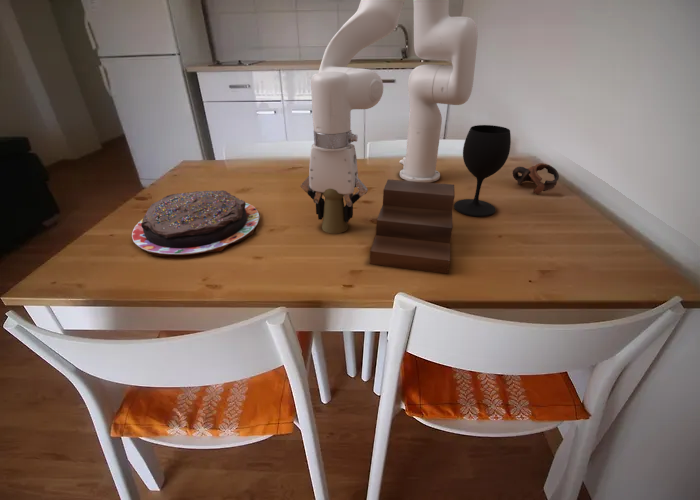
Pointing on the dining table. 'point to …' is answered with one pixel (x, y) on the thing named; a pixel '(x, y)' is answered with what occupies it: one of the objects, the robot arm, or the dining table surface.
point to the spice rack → (414, 226)
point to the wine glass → (483, 163)
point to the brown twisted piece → (536, 176)
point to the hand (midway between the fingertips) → (334, 217)
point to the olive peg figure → (333, 212)
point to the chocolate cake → (195, 223)
